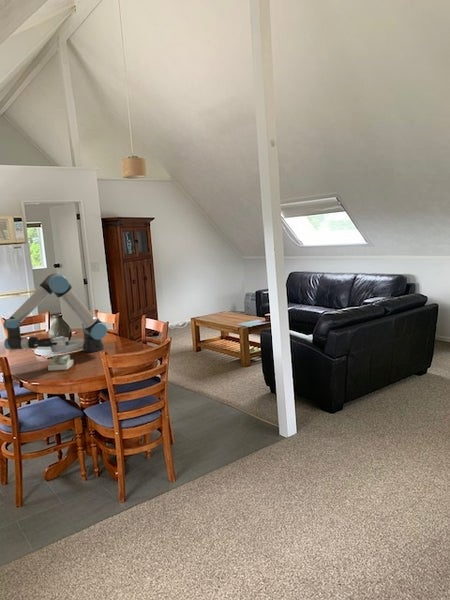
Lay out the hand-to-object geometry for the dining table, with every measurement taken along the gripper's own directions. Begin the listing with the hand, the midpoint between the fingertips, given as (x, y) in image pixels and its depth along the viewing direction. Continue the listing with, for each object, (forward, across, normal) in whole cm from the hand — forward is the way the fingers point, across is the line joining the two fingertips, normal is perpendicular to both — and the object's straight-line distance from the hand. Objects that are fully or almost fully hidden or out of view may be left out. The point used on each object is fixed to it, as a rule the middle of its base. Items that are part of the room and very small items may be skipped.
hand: (65, 341), depth 288 cm
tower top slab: (-5, 0, -14) cm, 15 cm away
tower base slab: (-4, 0, -17) cm, 18 cm away
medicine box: (-5, 0, -6) cm, 8 cm away
